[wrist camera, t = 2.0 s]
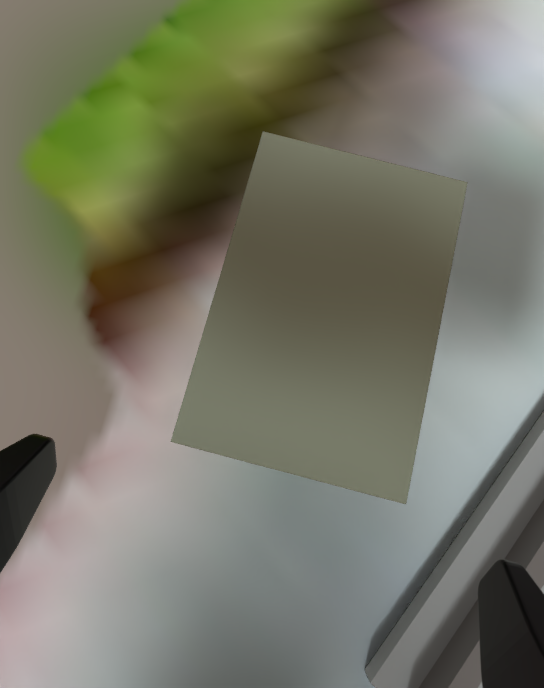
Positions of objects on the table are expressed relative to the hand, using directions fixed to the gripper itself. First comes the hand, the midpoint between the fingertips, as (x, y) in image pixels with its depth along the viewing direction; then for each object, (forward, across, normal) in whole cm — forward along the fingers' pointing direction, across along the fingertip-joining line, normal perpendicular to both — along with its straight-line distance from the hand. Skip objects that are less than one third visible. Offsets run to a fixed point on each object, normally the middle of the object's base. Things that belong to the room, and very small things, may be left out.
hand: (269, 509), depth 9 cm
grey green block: (+10, 0, +5) cm, 11 cm away
